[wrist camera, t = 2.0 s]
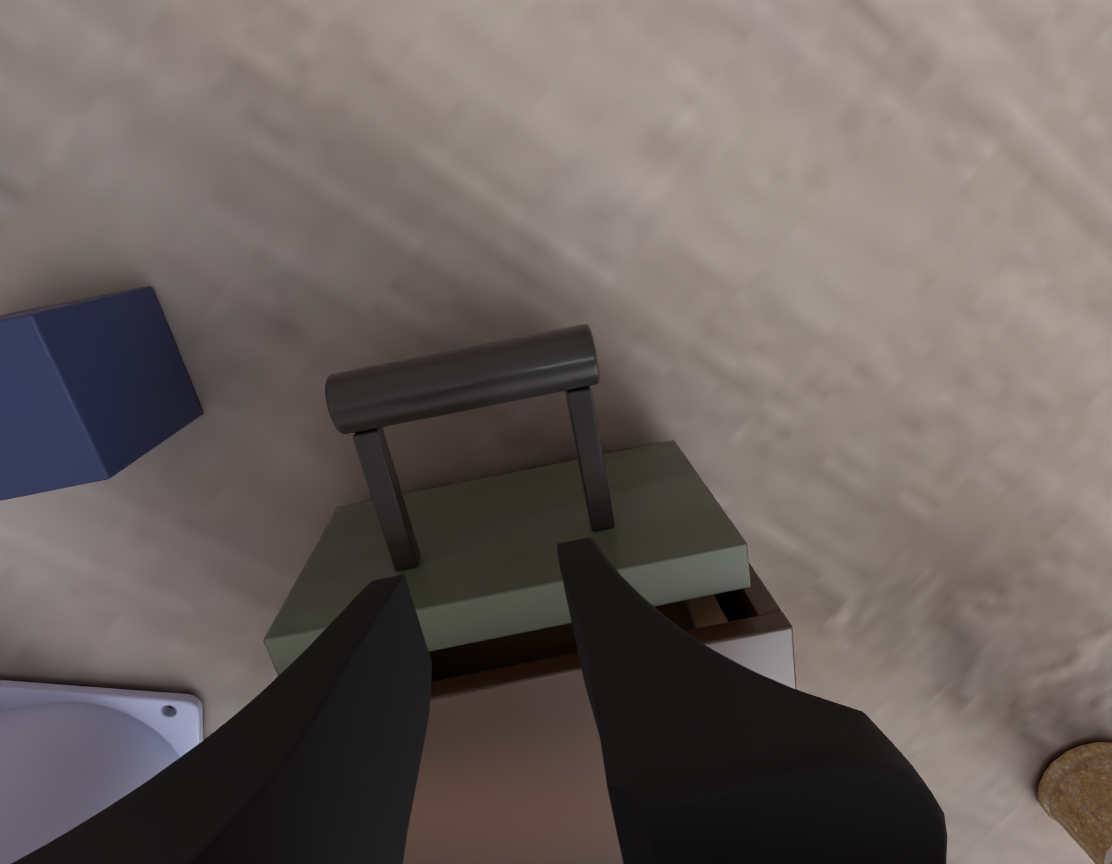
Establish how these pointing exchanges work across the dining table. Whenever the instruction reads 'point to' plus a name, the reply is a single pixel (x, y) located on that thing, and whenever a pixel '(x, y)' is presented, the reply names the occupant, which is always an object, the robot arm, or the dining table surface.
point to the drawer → (507, 516)
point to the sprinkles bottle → (1082, 797)
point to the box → (87, 390)
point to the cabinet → (548, 751)
